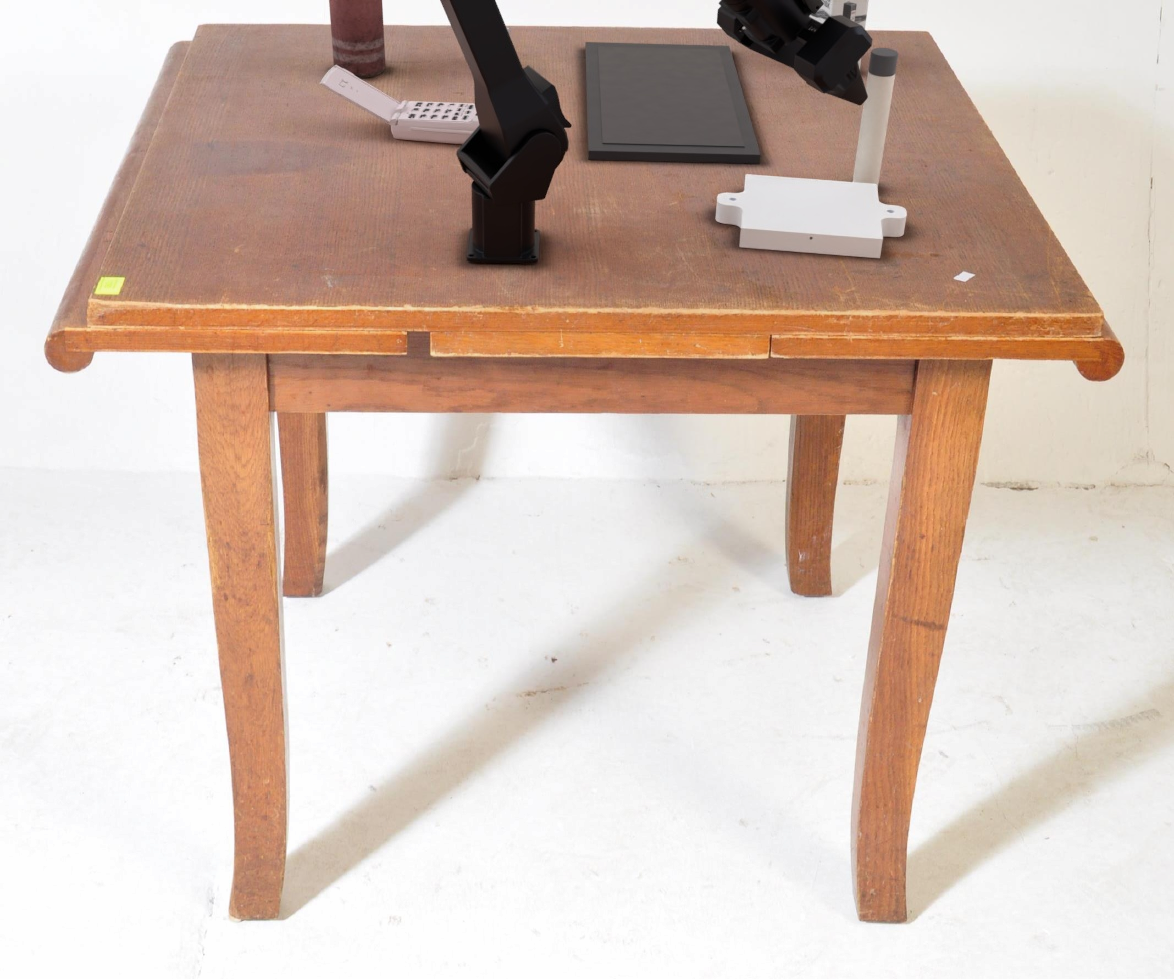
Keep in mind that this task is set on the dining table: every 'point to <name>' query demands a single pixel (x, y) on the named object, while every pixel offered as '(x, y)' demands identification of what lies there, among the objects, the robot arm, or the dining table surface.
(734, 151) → the tablet
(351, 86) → the mobile phone
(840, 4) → the ink box
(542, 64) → the dining table surface
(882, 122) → the white plastic rod
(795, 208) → the mounting plate
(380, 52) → the can
